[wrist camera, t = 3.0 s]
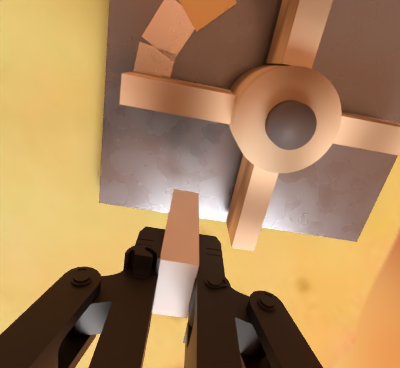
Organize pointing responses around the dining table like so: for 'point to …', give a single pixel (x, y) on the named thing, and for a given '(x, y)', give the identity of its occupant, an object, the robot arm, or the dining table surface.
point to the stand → (219, 132)
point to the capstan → (270, 114)
